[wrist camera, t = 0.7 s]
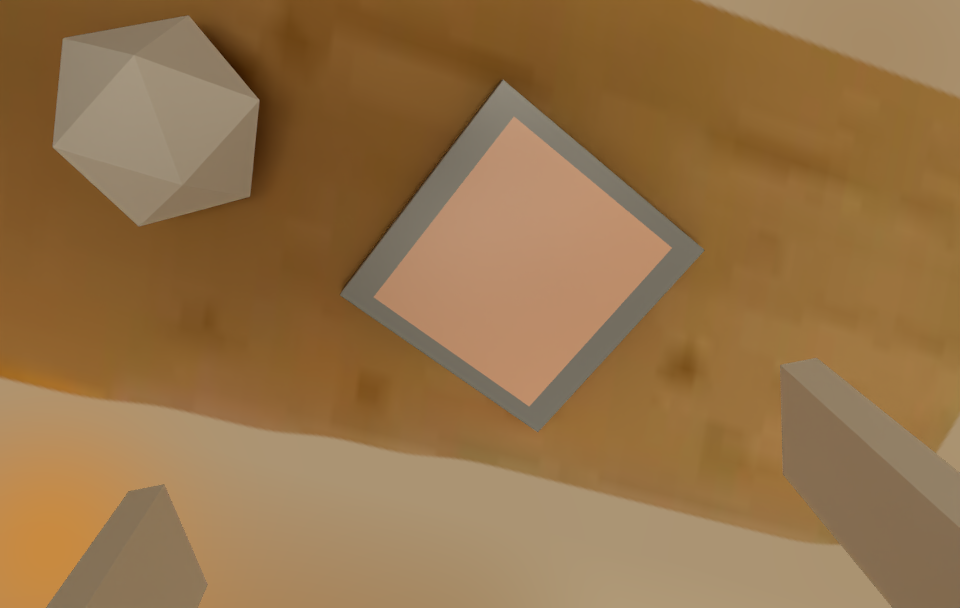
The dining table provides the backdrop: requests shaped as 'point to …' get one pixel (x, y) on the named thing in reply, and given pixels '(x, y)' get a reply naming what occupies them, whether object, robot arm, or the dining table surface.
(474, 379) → the base plate
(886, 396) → the dining table surface
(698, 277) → the dining table surface
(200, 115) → the die
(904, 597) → the robot arm
